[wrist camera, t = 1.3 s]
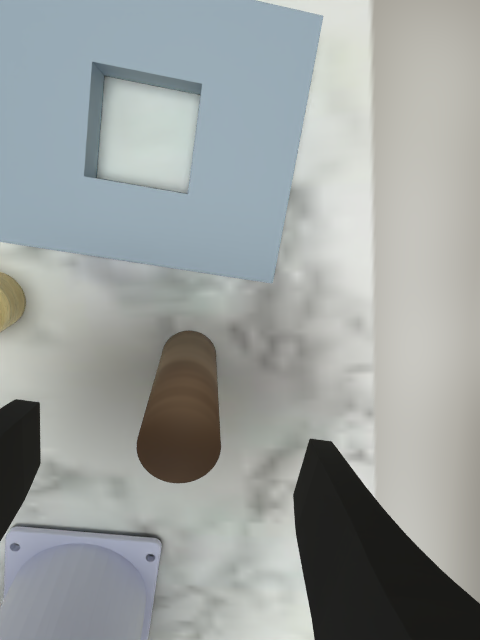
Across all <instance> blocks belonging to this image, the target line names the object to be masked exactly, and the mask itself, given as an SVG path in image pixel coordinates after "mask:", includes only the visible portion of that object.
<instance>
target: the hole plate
mask: <svg viewBox="0 0 480 640" xmlns="http://www.w3.org/2000/svg"><path fill="white" fill-rule="evenodd" d="M322 20H323V16H322V15H317V14H313V13H309V12H304V11H300V10H295V9H291V8H287V7H282V6H278V5H273V4H269V3H265V2H260V1H256V0H0V242H5V243H12V244H18V245H25V246H31V247H38V248H44V249H51V250H57V251H64V252H70V253H77V254H84V255H90V256H97V257H103V258H110V259H116V260H123V261H129V262H136V263H142V264H149V265H155V266H162V267H168V268H175V269H181V270H188V271H194V272H201V273H207V274H214V275H221V276H227V277H234V278H240V279H247V280H253V281H260V282H266V283H273V279H274V273H275V268H276V263H277V258H278V252H279V247H280V242H281V236H282V231H283V226H284V221H285V215H286V210H287V205H288V200H289V194H290V189H291V184H292V179H293V173H294V168H295V163H296V157H297V152H298V147H299V142H300V136H301V131H302V126H303V121H304V115H305V110H306V105H307V99H308V94H309V89H310V84H311V78H312V73H313V68H314V63H315V57H316V52H317V47H318V42H319V36H320V31H321V26H322ZM104 76H109V77H114V78H119V79H124V80H129V81H134V82H139V83H144V84H149V85H154V86H159V87H164V88H169V89H174V90H179V91H184V92H189V93H194V94H199V95H201V97H200V105H199V112H198V120H197V128H196V135H195V143H194V150H193V158H192V166H191V173H190V181H189V188H188V194H185V193H180V192H174V191H168V190H162V189H156V188H151V187H145V186H139V185H133V184H127V183H122V182H116V181H110V180H104V179H99V178H96V177H97V165H98V152H99V139H100V126H101V113H102V101H103V88H104Z"/></svg>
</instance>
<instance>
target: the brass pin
mask: <svg viewBox="0 0 480 640" xmlns="http://www.w3.org/2000/svg"><path fill="white" fill-rule="evenodd" d="M25 306H26V299H25V295H24V292H23V290H22V288H21V286H20V285H19V284H18V283H17V282H16V281H15V280H14V279H13V278H12V277H10V276H9V275H7V274H4V273H1V272H0V332H2V331H3V330H5V329H6V328H8V327H9V326H11V325H12V324H14V323H15V322H16V321H18V320H19V319H20V318H21V316H22V315H23V313H24V310H25Z"/></svg>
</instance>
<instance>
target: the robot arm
mask: <svg viewBox="0 0 480 640" xmlns="http://www.w3.org/2000/svg"><path fill="white" fill-rule="evenodd" d="M39 466H40V403H39V402H32V401H24V400H17V399H15V400H14V401H12V402H10V403H9V404H7V405H5V406H4V407H2V408H1V409H0V541H1V539H2V538H3V536H4V534H5V533H6V531H7V529H8V528H9V526H10V524H11V522H12V521H13V519H14V517H15V516H16V514H17V512H18V511H19V509H20V507H21V505H22V504H23V502H24V500H25V498H26V496H27V494H28V491H29V489H30V487H31V485H32V482H33V480H34V478H35V475H36V473H37V471H38V468H39ZM293 497H294V516H295V529H296V536H297V542H298V548H299V553H300V559H301V564H302V569H303V575H304V580H305V585H306V591H307V596H308V601H309V607H310V612H311V617H312V624H313V630H314V637H315V640H480V604H479V603H478V602H477V601H476V600H475V599H474V598H472V597H471V596H470V595H469V594H468V593H467V592H465V591H464V590H463V589H462V588H461V587H460V586H458V585H457V584H456V583H455V582H454V581H453V580H452V579H451V578H450V577H448V576H447V575H446V574H445V573H444V572H443V571H442V570H441V569H440V568H439V567H438V566H437V565H436V564H435V563H434V562H433V561H432V560H431V559H430V558H429V557H428V556H426V554H425V553H424V552H423V551H421V549H419V547H417V545H416V544H415V543H414V542H413V541H412V540H411V539H410V538H409V537H408V536H407V535H406V534H405V533H404V532H403V530H401V528H400V527H399V526H398V525H397V524H396V523H395V521H394V520H393V519H392V518H391V517H390V516H389V515H388V514H387V512H386V511H385V510H384V509H383V508H382V507H381V505H380V504H379V503H378V502H377V500H376V499H375V498H374V497H373V495H372V494H371V493H370V492H369V490H368V489H367V488H366V487H365V485H364V484H363V483H362V481H361V480H360V479H359V477H358V476H357V475H356V473H355V472H354V471H353V469H352V468H351V467H350V465H349V464H348V463H347V461H346V460H345V459H344V457H343V456H342V455H341V453H340V452H339V451H338V449H337V448H336V447H335V445H334V444H333V443H332V442H331V441H324V440H316V439H310V440H309V443H308V447H307V450H306V453H305V457H304V460H303V464H302V467H301V470H300V474H299V477H298V481H297V484H296V488H295V491H294V494H293ZM14 543H17V544H19V546H17V545H15V544H14ZM161 547H162V545H161V542H160V540H158V539H156V538H150V537H138V536H126V535H114V534H102V533H90V532H78V531H66V530H54V529H43V528H31V527H19V526H18V527H13V528H11V529H10V530H9V532H8V533H7V535H6V544H5V574H4V601H3V603H2V605H1V607H0V640H148V636H149V630H150V623H151V616H152V609H153V602H154V595H155V589H156V582H157V575H158V568H159V561H160V554H161ZM148 554H153V555H154V556H149V555H148Z"/></svg>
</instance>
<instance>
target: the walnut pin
mask: <svg viewBox="0 0 480 640" xmlns="http://www.w3.org/2000/svg"><path fill="white" fill-rule="evenodd" d="M220 450H221V441H220V422H219V403H218V384H217V365H216V351H215V348H214V345H213V344H212V342H211V341H210V340H209V339H208V338H207V337H206V336H205V335H203V334H201V333H199V332H195V331H183V332H179V333H177V334H175V335H173V336H172V337H171V338H170V339H169V340H168V341H167V342H166V344H165V346H164V348H163V351H162V355H161V358H160V362H159V365H158V369H157V372H156V376H155V379H154V383H153V386H152V390H151V393H150V397H149V400H148V404H147V407H146V411H145V414H144V418H143V421H142V425H141V428H140V432H139V435H138V439H137V454H138V457H139V460H140V462H141V464H142V465H143V467H144V468H145V469H146V470H147V471H148V472H149V473H150V474H151V475H153V476H154V477H156V478H158V479H160V480H163V481H166V482H170V483H187V482H191V481H194V480H197V479H199V478H201V477H203V476H204V475H206V474H207V473H208V472H209V471H210V470H211V469H212V468H213V467H214V466H215V464H216V462H217V460H218V458H219V455H220Z"/></svg>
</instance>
